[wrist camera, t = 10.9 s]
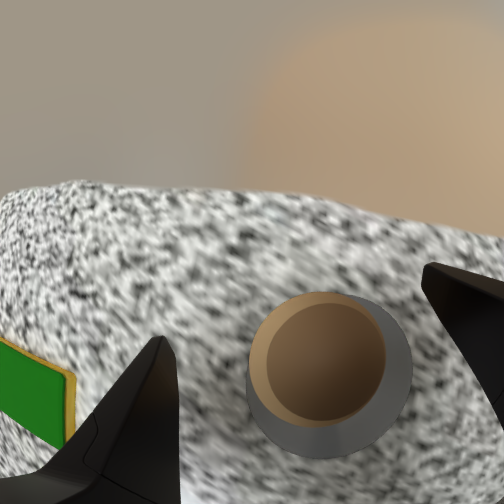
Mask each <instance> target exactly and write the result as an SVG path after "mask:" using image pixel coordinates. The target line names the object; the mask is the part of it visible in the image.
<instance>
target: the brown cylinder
mask: <svg viewBox="0 0 504 504" xmlns="http://www.w3.org/2000/svg"><path fill="white" fill-rule="evenodd" d="M385 365H386V347H385V341H384V337H383V334H382V332H381V329H380V327H379V325H378V323H377V322H376V320H375V319H374V317H373V316H372V315H371V314H370V312H369V311H368V310H367V309H366V308H364V307H363V306H362V305H361V304H359V303H358V302H356V301H355V300H353V299H351V298H349V297H346V296H344V295H341V294H337V293H332V292H311V293H306V294H302V295H299V296H296V297H294V298H291V299H289V300H288V301H286V302H284V303H282V304H281V305H280V306H278V307H277V308H276V309H274V310H273V311H272V312H271V313H270V314H269V315H268V316H267V318H266V319H265V320H264V321H263V323H262V324H261V326H260V327H259V329H258V331H257V333H256V335H255V337H254V340H253V343H252V346H251V350H250V356H249V370H250V377H251V381H252V384H253V387H254V390H255V392H256V394H257V395H258V397H259V399H260V400H261V402H262V403H263V404H264V406H265V407H266V408H267V409H268V410H269V411H270V412H271V413H273V414H274V415H276V416H277V417H278V418H280V419H282V420H284V421H286V422H288V423H291V424H293V425H297V426H302V427H310V428H317V427H326V426H331V425H334V424H337V423H340V422H342V421H345V420H347V419H349V418H350V417H352V416H353V415H355V414H356V413H358V412H359V411H360V410H361V409H363V408H364V407H365V406H366V404H367V403H368V402H369V401H370V400H371V399H372V397H373V396H374V394H375V393H376V391H377V389H378V388H379V385H380V383H381V381H382V378H383V375H384V371H385Z"/></svg>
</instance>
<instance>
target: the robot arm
mask: <svg viewBox="0 0 504 504" xmlns="http://www.w3.org/2000/svg"><path fill="white" fill-rule="evenodd" d="M421 287H422V290H423V292H424V294H425V296H426V297H427V299H428V301H429V302H430V304H431V306H432V307H433V309H434V311H435V313H436V314H437V316H438V318H439V320H440V321H441V323H442V324H443V326H444V327H445V329H446V330H447V332H448V333H449V335H450V336H451V338H452V339H453V341H454V342H455V344H456V345H457V347H458V348H459V350H460V352H461V353H462V355H463V356H464V358H465V360H466V361H467V363H468V364H469V366H470V368H471V369H472V371H473V373H474V374H475V376H476V378H477V380H478V381H479V383H480V385H481V387H482V388H483V390H484V392H485V394H486V396H487V398H488V400H489V401H490V403H491V405H492V408H493V409H494V411H495V413H496V415H497V418H498V420H499V422H500V424H501V426H502V428H503V430H504V282H503V281H500V280H496V279H493V278H490V277H486V276H483V275H479V274H476V273H472V272H469V271H465V270H462V269H458V268H455V267H451V266H448V265H444V264H440V263H437V262H431V263H429V264H426V265H425V266H424V268H423V275H422V282H421ZM0 504H181V496H180V471H179V391H178V380H177V368H176V357H175V354H174V352H173V350H172V348H171V346H170V344H169V342H168V340H167V339H166V337H165V336H163V335H162V336H156V337H152V338H151V339H150V340H149V341H148V343H147V344H146V345H145V346H144V348H143V349H142V350H141V351H140V352H139V354H138V355H137V356H136V357H135V359H134V360H133V361H132V362H131V364H130V365H129V366H128V367H127V368H126V370H125V371H124V372H123V373H122V375H121V376H120V377H119V378H118V380H117V381H116V382H115V383H114V385H113V386H112V387H111V388H110V390H109V391H108V392H107V393H106V395H105V396H104V397H103V399H102V400H101V401H100V402H99V404H98V405H97V406H96V407H95V409H94V410H93V412H91V414H90V415H89V416H88V418H87V419H86V420H85V421H84V423H83V424H82V425H81V426H80V427H79V429H78V430H77V431H76V432H75V433H74V434H73V436H72V437H71V438H70V439H69V440H68V441H67V442H66V443H65V444H64V445H63V447H62V448H61V449H60V450H59V451H58V452H57V453H56V454H55V455H54V456H53V457H52V458H51V459H50V460H49V462H48V463H47V464H46V465H45V466H43V467H42V468H41V469H39V470H37V471H36V472H33V473H30V474H25V475H20V476H14V477H8V478H0ZM496 504H504V497H503V498H502V499H501V500H499V501H498V502H497V503H496Z"/></svg>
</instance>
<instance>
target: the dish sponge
mask: <svg viewBox="0 0 504 504" xmlns="http://www.w3.org/2000/svg"><path fill="white" fill-rule="evenodd" d="M76 379H77V378H76V377H75V375H74V373H72V372H69V371H67V370H65V369H62V368H60V367H58V366H56V365H53V364H51V363H49V362H47V361H45V360H43V359H41V358H39V357H37V356H35V355H33V354H31V353H29V352H27V351H25V350H23V349H21V348H19V347H18V346H16V345H14V344H12V343H10V342H9V341H7V340H5V339H4V338H2V337H0V410H2V411H3V412H4V413H5V414H7V415H8V416H9V417H10V418H12V419H13V420H14V421H16V422H17V423H19V424H20V425H21V426H23V427H24V428H25V429H27V430H28V431H30V432H31V433H33V434H34V435H36V436H37V437H39V438H40V439H42V440H44V441H45V442H47V443H48V444H50V445H52V446H53V447H55V448H57V449H58V450H60V449H61V448H62V447H63V445H64V444H65V443H66V442H67V441H68V440H69V439H70V438H71V437H72V436H73V434H74V433H75V398H76Z"/></svg>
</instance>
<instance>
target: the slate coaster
mask: <svg viewBox="0 0 504 504" xmlns="http://www.w3.org/2000/svg"><path fill="white" fill-rule="evenodd" d="M341 295H344V296H346V297H349V298H351V299H353V300H355V301H356V302H358V303H359V304H361V305H362V306H363V307H364V308H366V309H367V310H368V311H369V312H370V314H371V315H372V316H373V317H374V319H375V320H376V322H377V323H378V325H379V327H380V329H381V332H382V334H383V337H384V341H385V347H386V365H385V371H384V375H383V378H382V381H381V383H380V385H379V388H378V389H377V391H376V393H375V394H374V396H373V397H372V399H371V400H370V401H369V402H368V403H367V404H366V406H365V407H364V408H363V409H361V410H360V411H359V412H358V413H356V414H355V415H353V416H352V417H350V418H349V419H347V420H345V421H342V422H340V423H337V424H334V425H331V426H326V427H317V428H310V427H302V426H297V425H293V424H291V423H288V422H286V421H284V420H282V419H280V418H278V417H277V416H276V415H274V414H273V413H271V412H270V411H269V410H268V409H267V408H266V407H265V406H264V404H263V403H262V402H261V400H260V399H259V397H258V395H257V394H256V392H255V390H254V387H253V384H252V381H251V377H250V370H249V364H248V369H247V375H246V393H247V400H248V404H249V408H250V410H251V413H252V415H253V418H254V420H255V421H256V423H257V425H258V426H259V428H260V429H261V430H262V431H263V433H264V434H265V435H266V436H267V437H268V438H269V439H270V440H271V441H272V442H274V443H275V444H276V445H278V446H279V447H281V448H282V449H284V450H286V451H288V452H291V453H293V454H296V455H299V456H302V457H308V458H315V459H328V458H337V457H341V456H345V455H349V454H351V453H354V452H357V451H359V450H361V449H363V448H365V447H367V446H368V445H370V444H371V443H373V442H374V441H376V440H377V439H378V438H379V437H381V436H382V435H383V434H384V433H385V432H386V431H387V430H388V429H389V428H390V427H391V426H392V424H393V423H394V422H395V420H396V419H397V418H398V416H399V414H400V413H401V411H402V409H403V407H404V405H405V403H406V400H407V398H408V395H409V391H410V388H411V382H412V370H413V366H412V356H411V352H410V347H409V344H408V342H407V339H406V337H405V335H404V333H403V331H402V329H401V328H400V326H399V325H398V323H397V322H396V321H395V320H394V319H393V317H392V316H391V315H390V314H389V313H387V312H386V311H385V310H384V309H382V308H381V307H380V306H378V305H376V304H375V303H373V302H371V301H368V300H366V299H364V298H360V297H357V296H353V295H345V294H341Z"/></svg>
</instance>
